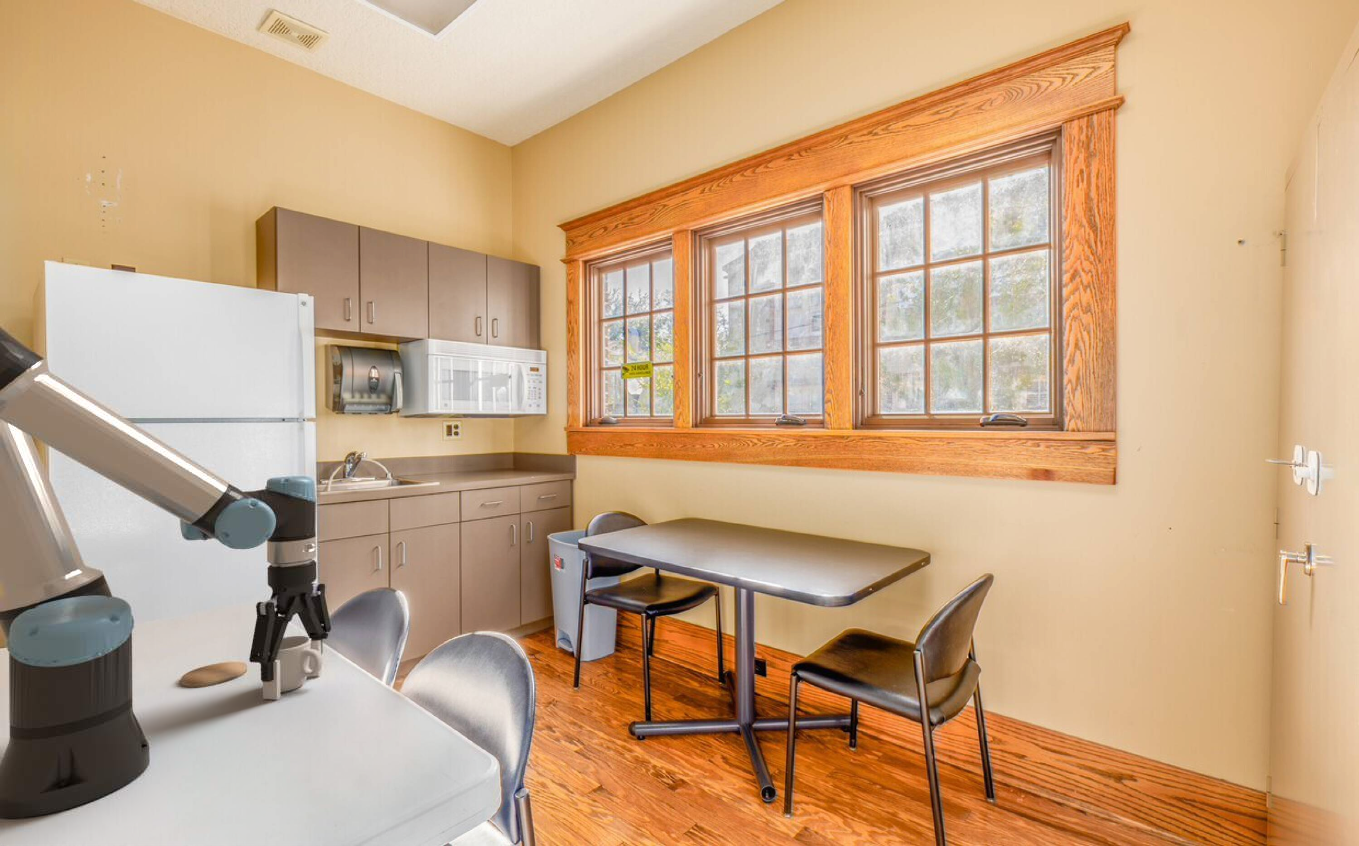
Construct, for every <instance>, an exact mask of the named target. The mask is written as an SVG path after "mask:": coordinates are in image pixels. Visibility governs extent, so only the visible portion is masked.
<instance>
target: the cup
mask: <svg viewBox="0 0 1359 846" xmlns="http://www.w3.org/2000/svg"><path fill="white" fill-rule="evenodd" d="M310 648H311V638H309V636H305V635H304V636H303V635H294V636H286V637H285V636H284V637H283V640H282V642H281V645H280V648H279V651H278V654H277V657H276V660H280V693H285V692H289V691H292V690H296V689H299V687H302V686H303V685H304V684H305V683H306V681H307V678H308V677H309V678H310V677H315V676H314V675H316V674H317V673H318V672H319V671H320V670H321V667H322V665H323V656H322V655H321V654H320V652H319V651H317V650H314V649H310ZM268 655H270V653H269V654H268ZM310 656H312V657H313V658H314V660H315V668H314V670H311V669H310V668H309V657H310Z"/></svg>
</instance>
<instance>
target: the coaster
mask: <svg viewBox="0 0 1359 846" xmlns="http://www.w3.org/2000/svg"><path fill="white" fill-rule="evenodd" d="M247 671H248V665H247V664H246V663H245V662H243V661H242V662H241V661H226V662H218V663H213V664H208V665H204V666H201V667H198V668H194V669H192V670H190V671H187V672H185V674H183V675H181V678H180V685H181V686H183V687H187V688H201V687H209V686H214V685H219V684H223V683H226V682H229V681H233V680H234V679H237V678H240V677H242V676H243V675H244V674H246V673H247Z"/></svg>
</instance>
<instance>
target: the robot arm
mask: <svg viewBox="0 0 1359 846" xmlns="http://www.w3.org/2000/svg"><path fill="white" fill-rule="evenodd" d="M33 438H34V439H36V440H38V441H39V442H41V443H43V444H45V446H48V447H51V448H52V449H53V450H55V451H57V452H60V453H61V454H63V455H65V456H67V457H68V458H70V459H72V460H74V461H76V462H77V463H79V464H81V465H83V466H84V467H86V468H88V469H90V470H91V471H93V472H95V473H97V474H98V475H100V476H103V477H104V478H106V479H108V480H109V481H112V482H113V483H115V484H117V485H118V486H120V487H122V488H124V489H126V490H127V491H130V492H131V493H133V494H134V495H137V496H139V497H140V498H142V499H143V500H145V501H148V502H149V503H151V504H153V505H155V506H156V507H158V508H160V509H161V510H163V511H165V512H167V513H168V514H171V515H172V516H174V517H176V518H178V519H179V525H180V531H181V535H182V536H181V537H182V538H183V539H184V540H185V541H190V542H191V541H207V540H211V539H214V540H216V541H218V542H219V543H221V544H222V545H224V546H225V547H227V548H231V549H234V550H249V549H250V550H251V549H254V548H257V547H259V546H261V545H263V544H264V543H265V542H266V543H267V544H266V546H267V547H266V550H267V551H266V561H267V563H269V564H270V565H268V567H267V586H268V587H270V588H271V590H272V591H271V592H272V593H271V596H270V599H267V600H266V601H258V602H257V603H256V605H255V608H256V609H255V610H256V621H255V626H254V631H253V637H252V642H251V647H250V648H251V649H250V653H249V658H248V659H249V660H248V661H249V663H256V664H257V663H259V664H260V680H261V682H262V700H263V699H264V700H279V699H280V698H281V692H280V660H276V657H277V654H278V651H279V648H280V645H281V642H282V640H283V638H284V637H285V633H286V631H287V627H288V625H289V623H290V622H292V620H293V617H294V615H296V614H297V616H298V617H299V619H300V621H301V624H302V626H303V627H304V628H303V629H304V630H305V632H306V634H307V637H309V638H310V639H311V648H310V649H314V650H317V651H319V652H320V654H321V656H322V655H323V652H324V651H323V640H327V639H328V637H329V633H330V632H331V630H332V625H331V619H330V615H329V610H328V605H327V601H326V584H325V583H314V582H315V581H316V580H317V577H318V576H317V561H316V560H314V559H315V558H316V557H317V542H316V541H317V540H316V539H317V538H316V536H317V535H316V533H317V532H316V527H317V526H316V520H317V519H316V517H317V516H316V515H317V498H316V495H317V494H316V485H315V481H314V479H313V478H311V476H303V475H302V476H301V475H298V476H297V475H296V476H293V475H292V476H278V477H271V478H269V479H267V481H266V485H265V488H264V489H259V490H249V491H248V490H247V491H243V490H241V489H239V488H238V487H235V486H234V485H232V484H230V483H229V482H228V481H227V480H225V479H223V478H222V477H220V476H218V475H216V474H215V473H214V472H212V471H210V470H208V468H205V467H204V466H202V465H201V464H199V463H198V462H195V461H194V460H192V459H191V458H190V457H188V456H186V455H184V454H183V453H181V452H180V451H178V450H176V449H175V448H173V447H171V446H170V445H168V444H167V443H165V442H163V441H162V440H160V439H158V438H157V437H155V436H154V435H153V434H150V433H149V432H147V431H146V430H145V429H142V428H141V427H139V426H138V425H136V424H135V423H133V422H131V421H130V420H129V419H126V418H124V417H123V416H121V415H120V414H118V413H117V412H115V411H113V410H112V409H110V408H109V407H107V406H105V405H104V404H102V403H100V402H99V401H97V400H95V399H94V398H92V397H91V396H89V395H88V394H86V393H85V392H83V391H81V390H80V389H78V388H76V387H74V386H73V385H72V384H70V383H68V382H67V381H65V380H63V379H61V377H59V376H57V375H55V374H54V373H52V372H50V370H49V363H48V360H47V359H46V358H44V357H42V356H41V355H39V354H38V353H36V352H34V351H33V350H32V349H31V348H28V347H27V346H26V345H25V344H23V343H21V342H20V341H19V340H18V339H16V338H15V337H14V336H12V335H11V334H10V333H9V332H7V330H5V329H4V328H3V327H1V326H0V587H1V590H2V594H1V596H0V627H1V630H2V633H4V636H5V639H6V649H7V651H8V659H9V660H8V664H9V665H8V666H9V667H8V668H9V669H8V670H9V671H8V672H9V673H8V679H9V681H8V683H9V685H8V686H9V687H8V688H9V689H8V690H9V691H8V692H9V695H8V698H9V699H8V700H9V703H8V705H9V707H8V708H9V710H8V711H9V712H8V715H9V717H8V719H9V740H8V744H7V746H6V749H5V751H4V753H3V757H2V759H1V761H0V818H2V819H3V818H4V819H20V818H30V817H37V816H42V815H47V814H50V813H51V814H52V813H56V812H60V811H64V810H67V809H70V808H74V807H77V806H80V805H83V804H86V803H88V802H92V801H94V800H97V799H99V798H101V797H104V796H106V795H108V794H111V793H112V792H114V791H117V790H119V789H121V788H122V787H124V786H126V785H127V784H130V783H131V782H133V781H134V780H136V779H137V778H138V777H139V776H141V775H142V774H143V773H144V772H145V771H146V769H148V767H149V765H150V759H151V757H150V754H151V753H150V745H149V742H148V740H147V739H146V736H145V734H144V732H143V729H142V727H141V725H140V723H139V721H138V718H137V717H136V715H135V712H134V710H133V709H134V707H133V705H134V704H133V630H134V627H135V620H134V615H133V614H132V608H131V605H130V604H129V603H128V602H127V601H126V600H124V599H123V598H120V597H118V596H117V597H116V596H113V594H112V592H111V589H110V587H109V586H110V585H108V582H107V580H106V577H105V575H104V572H103V571H102V569H101V570H100V569H97V568H93V567H90V566H87V565H86V564H85V563H84V560H83V557H82V556H81V553H80V550H79V547H78V545H77V542H76V541H75V538H74V536H73V534H72V531H71V529H70V527H69V524H68V521H67V519H66V516H65V514H64V511H63V510H62V507H61V505H60V502H59V499H58V497H57V495H56V492H55V490H54V487H53V485H52V482H51V481H50V477H49V476H48V473H47V471H46V468H45V465H44V464H43V461H42V459H41V456H40V454H39V452H38V449H37V447H36V444H35V442H34V440H33ZM269 653H270V655H268V654H269ZM309 668H310V669H311V670H314V668H315V660H314V658H313V657H312V656H310V657H309ZM322 673H323V671H322V667H321V670H320V671H319V672H318V673H317V674H316V675H314V676H313V677H320V676H322Z"/></svg>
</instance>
